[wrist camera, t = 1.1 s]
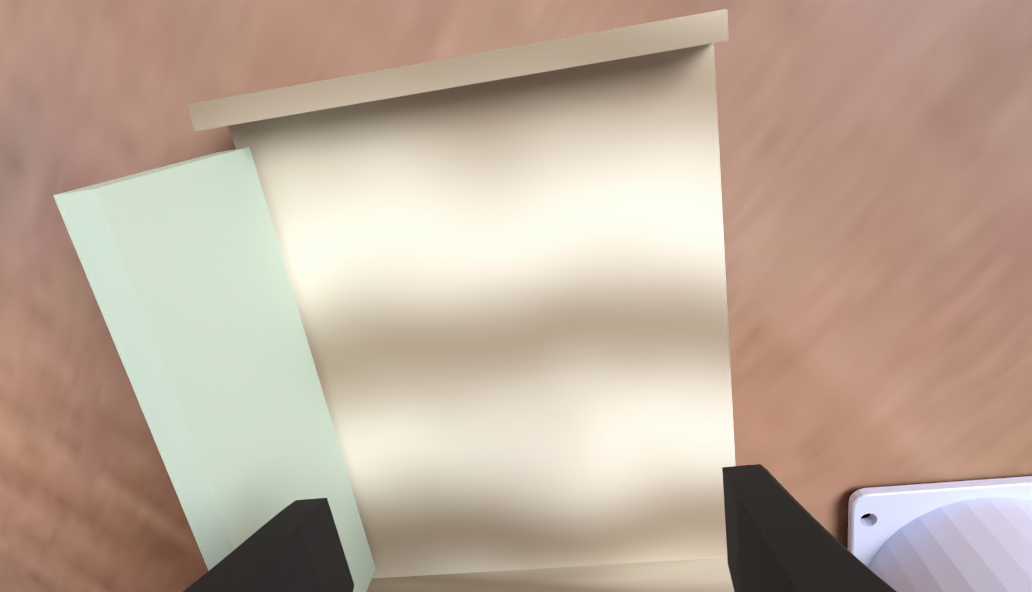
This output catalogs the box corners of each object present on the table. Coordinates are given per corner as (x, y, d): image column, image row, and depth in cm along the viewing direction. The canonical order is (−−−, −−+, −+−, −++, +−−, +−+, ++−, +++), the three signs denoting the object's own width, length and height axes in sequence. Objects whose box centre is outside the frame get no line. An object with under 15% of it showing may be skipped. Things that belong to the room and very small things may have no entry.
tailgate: (375, 568, 20) (308, 738, 15) (352, 569, 21) (277, 738, 15) (249, 146, 16) (94, 188, 11) (220, 151, 16) (53, 195, 11)
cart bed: (723, 517, 22) (753, 611, 18) (391, 539, 23) (356, 630, 20) (692, 20, 16) (727, 9, 13) (266, 94, 18) (185, 104, 14)
